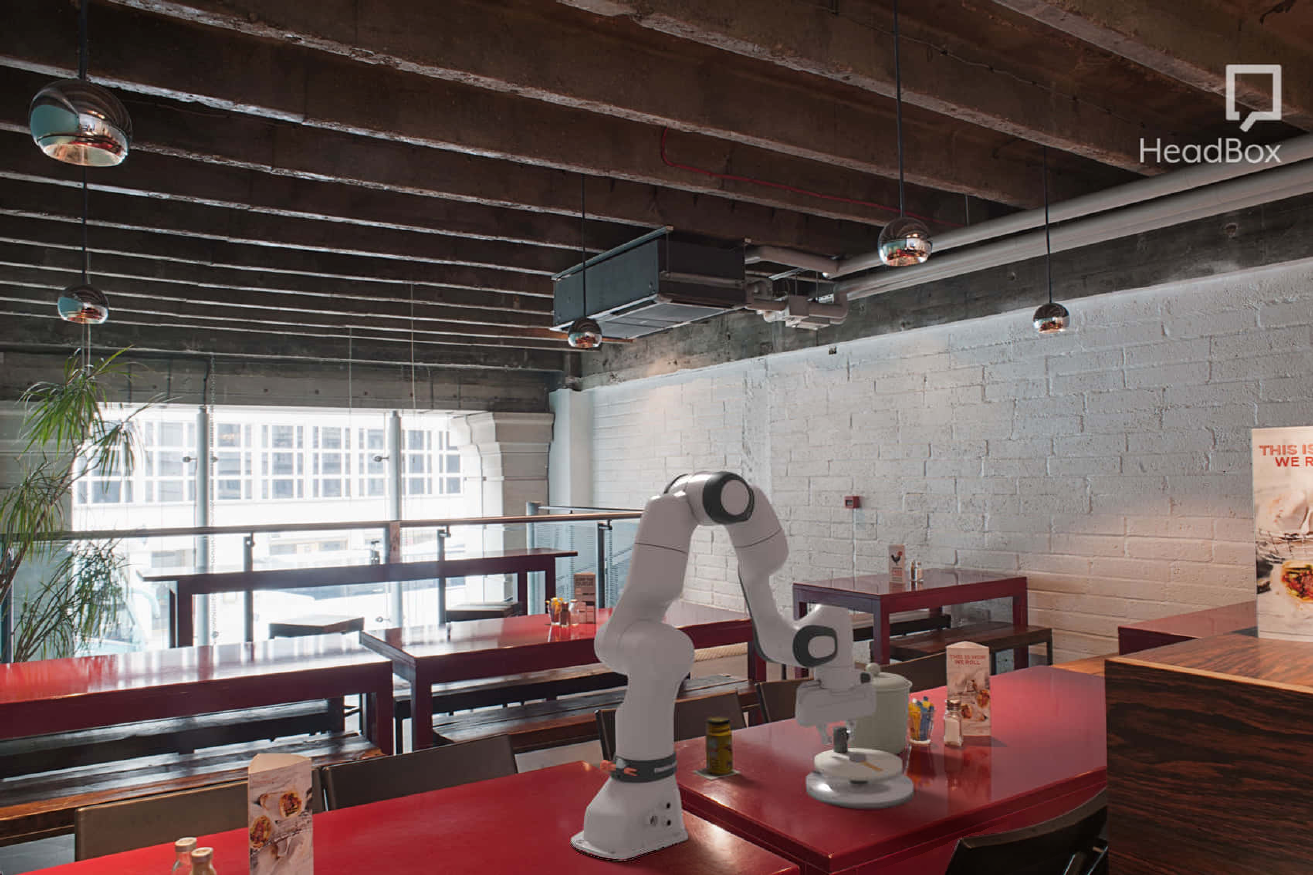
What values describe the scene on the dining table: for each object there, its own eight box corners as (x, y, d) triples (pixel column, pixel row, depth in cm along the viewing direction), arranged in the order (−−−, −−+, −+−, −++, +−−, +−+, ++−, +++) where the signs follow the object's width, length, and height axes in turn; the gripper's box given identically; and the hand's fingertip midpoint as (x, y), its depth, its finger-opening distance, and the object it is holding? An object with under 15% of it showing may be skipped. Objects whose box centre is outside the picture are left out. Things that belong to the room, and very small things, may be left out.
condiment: (740, 773, 198) (739, 719, 199) (711, 780, 194) (709, 725, 195) (721, 765, 205) (719, 713, 205) (691, 772, 200) (690, 718, 201)
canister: (876, 766, 200) (872, 673, 202) (823, 749, 216) (819, 662, 217) (931, 753, 210) (927, 663, 211) (877, 737, 225) (873, 654, 227)
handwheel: (920, 773, 179) (918, 741, 179) (842, 785, 173) (841, 751, 174) (872, 751, 196) (870, 721, 196) (799, 760, 190) (798, 730, 191)
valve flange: (885, 816, 169) (883, 792, 169) (786, 794, 183) (785, 773, 183) (930, 786, 186) (929, 765, 186) (837, 768, 200) (836, 748, 200)
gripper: (805, 685, 184) (809, 752, 183) (879, 673, 194) (882, 737, 193) (787, 680, 189) (790, 746, 188) (859, 669, 199) (863, 731, 198)
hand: (837, 741), depth 191 cm, fingers open, 5 cm apart
